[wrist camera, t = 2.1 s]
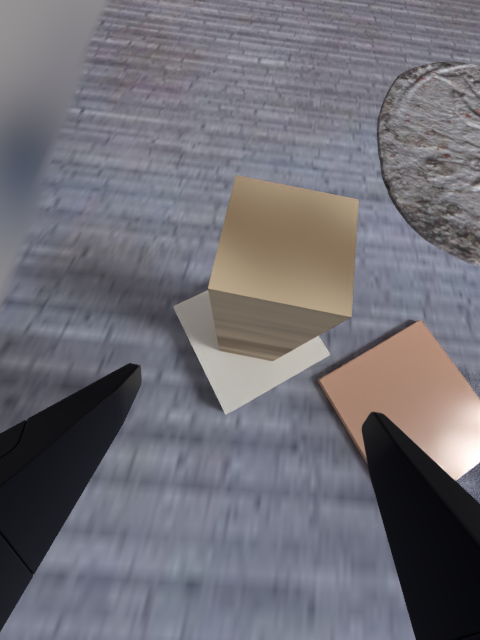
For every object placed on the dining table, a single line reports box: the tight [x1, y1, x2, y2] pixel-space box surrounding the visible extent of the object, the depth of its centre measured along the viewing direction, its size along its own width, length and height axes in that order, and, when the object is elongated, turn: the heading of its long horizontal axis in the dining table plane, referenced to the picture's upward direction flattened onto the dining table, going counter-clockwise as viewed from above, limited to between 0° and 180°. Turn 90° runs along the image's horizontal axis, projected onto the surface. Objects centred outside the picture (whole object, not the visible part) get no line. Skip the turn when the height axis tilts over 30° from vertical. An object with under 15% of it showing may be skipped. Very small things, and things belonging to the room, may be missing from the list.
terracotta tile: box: [317, 320, 480, 481], centre depth 21 cm, size 12×12×1 cm
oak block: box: [208, 175, 359, 361], centre depth 14 cm, size 4×4×13 cm
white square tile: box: [173, 290, 330, 415], centre depth 21 cm, size 10×10×2 cm
